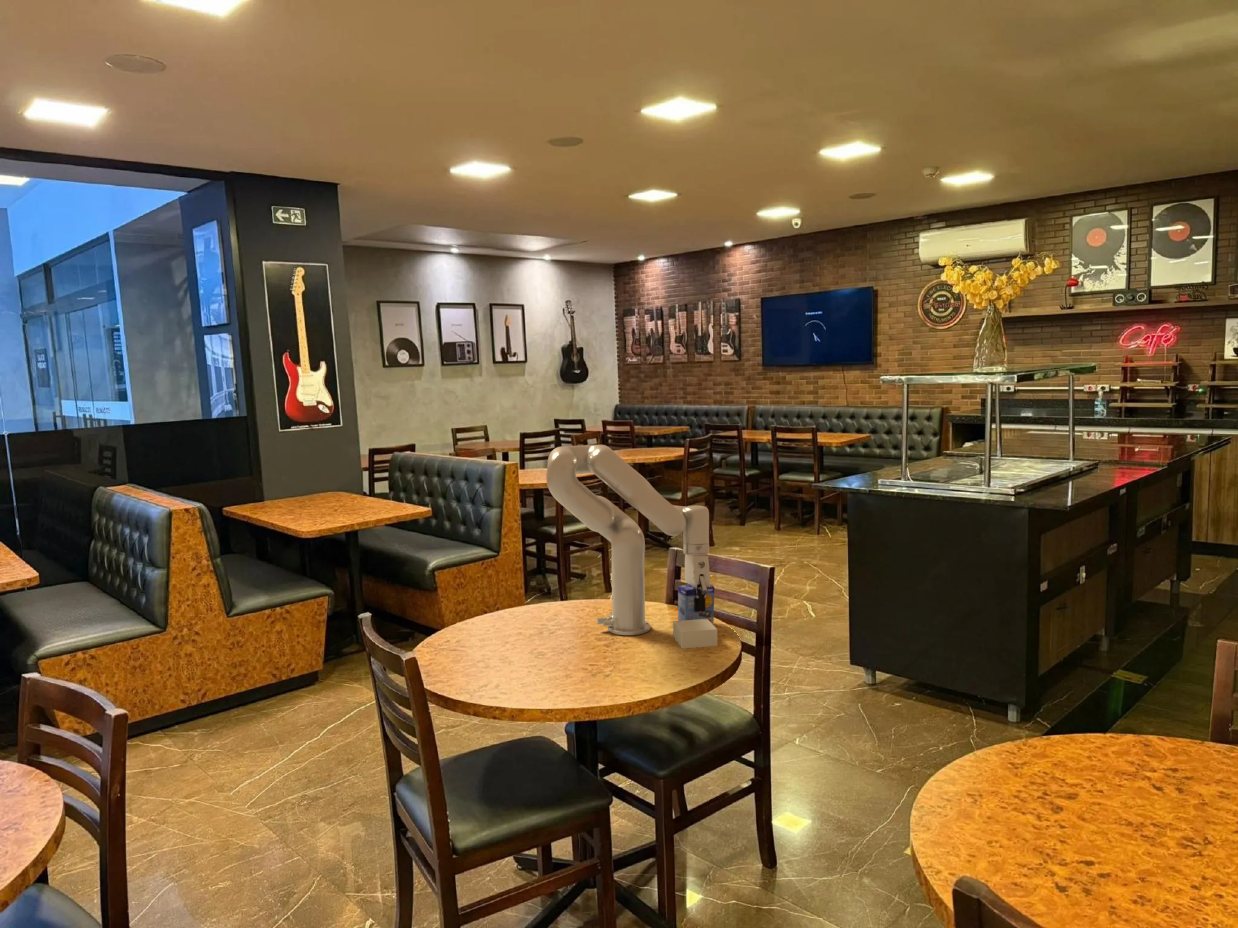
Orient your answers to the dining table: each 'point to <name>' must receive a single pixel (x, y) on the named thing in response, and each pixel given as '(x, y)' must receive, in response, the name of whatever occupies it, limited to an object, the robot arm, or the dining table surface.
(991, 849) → the dining table surface
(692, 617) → the ink cartridge box
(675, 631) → the base block
